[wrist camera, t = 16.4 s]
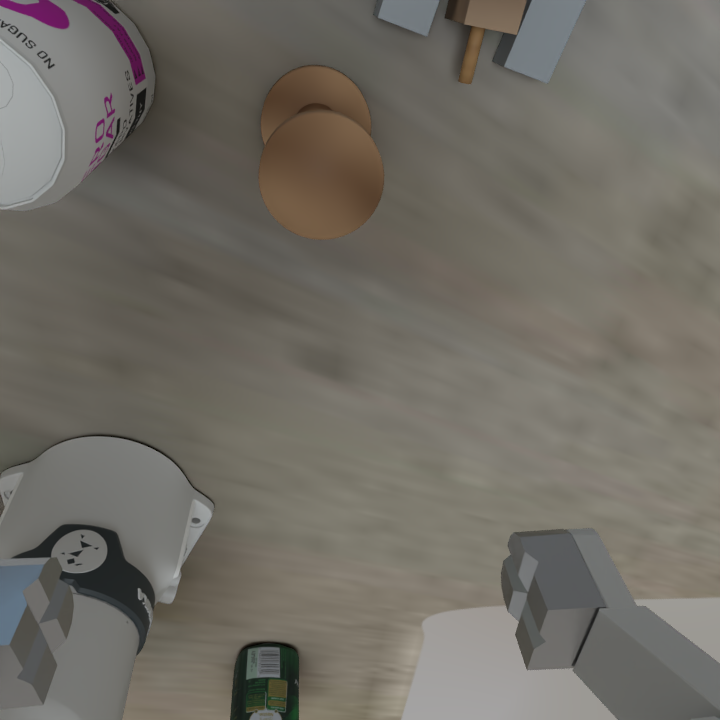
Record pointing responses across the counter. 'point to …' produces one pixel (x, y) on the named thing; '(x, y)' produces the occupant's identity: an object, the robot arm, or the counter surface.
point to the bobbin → (318, 154)
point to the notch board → (516, 52)
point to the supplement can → (65, 94)
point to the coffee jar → (266, 684)
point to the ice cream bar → (483, 25)
